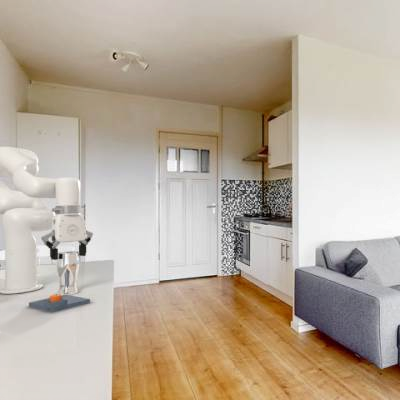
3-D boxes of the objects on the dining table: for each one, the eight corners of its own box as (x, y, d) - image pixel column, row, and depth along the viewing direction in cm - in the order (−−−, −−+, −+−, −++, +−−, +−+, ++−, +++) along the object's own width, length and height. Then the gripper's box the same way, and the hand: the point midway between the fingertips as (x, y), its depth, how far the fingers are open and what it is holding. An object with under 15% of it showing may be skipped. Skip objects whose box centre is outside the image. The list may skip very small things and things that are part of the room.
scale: (25, 307, 108) (25, 298, 108) (65, 298, 118) (65, 289, 118) (50, 313, 101) (50, 303, 101) (90, 303, 112) (90, 294, 112)
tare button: (47, 301, 105) (47, 296, 105) (58, 299, 107) (58, 293, 107) (53, 303, 103) (52, 297, 103) (63, 300, 106) (63, 294, 106)
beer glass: (70, 295, 122) (70, 253, 122) (51, 295, 122) (51, 253, 122) (83, 290, 129) (83, 251, 129) (65, 290, 129) (65, 251, 129)
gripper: (47, 211, 117) (48, 261, 116) (97, 210, 132) (98, 254, 132) (35, 211, 120) (36, 260, 120) (86, 210, 136) (86, 254, 135)
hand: (68, 257), depth 126 cm, fingers open, 9 cm apart
